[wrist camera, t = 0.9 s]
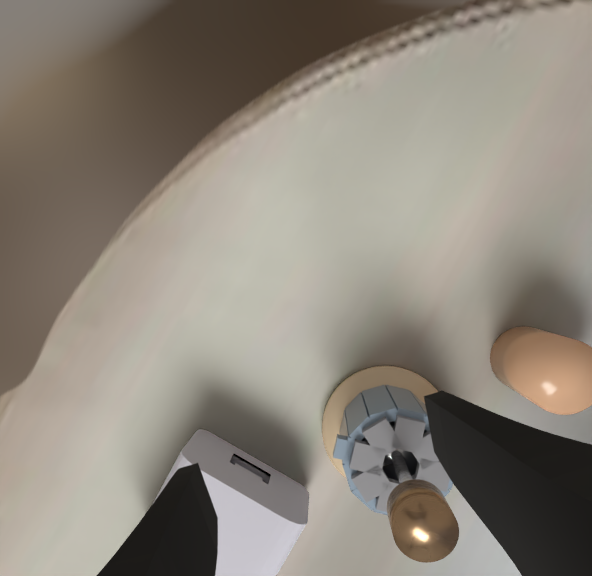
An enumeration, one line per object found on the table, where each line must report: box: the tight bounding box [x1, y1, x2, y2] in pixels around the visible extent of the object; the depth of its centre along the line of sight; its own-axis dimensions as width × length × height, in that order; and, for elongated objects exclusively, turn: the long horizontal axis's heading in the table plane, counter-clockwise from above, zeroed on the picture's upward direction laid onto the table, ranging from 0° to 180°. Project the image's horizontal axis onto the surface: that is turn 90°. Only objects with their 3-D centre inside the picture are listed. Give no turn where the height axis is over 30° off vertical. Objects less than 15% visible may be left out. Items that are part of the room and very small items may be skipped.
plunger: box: [363, 421, 459, 562], centre depth 20 cm, size 4×4×7 cm
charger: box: [152, 429, 309, 576], centre depth 27 cm, size 5×9×15 cm
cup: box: [490, 326, 592, 415], centre depth 24 cm, size 6×4×5 cm
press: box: [322, 366, 453, 515], centre depth 25 cm, size 9×9×5 cm
